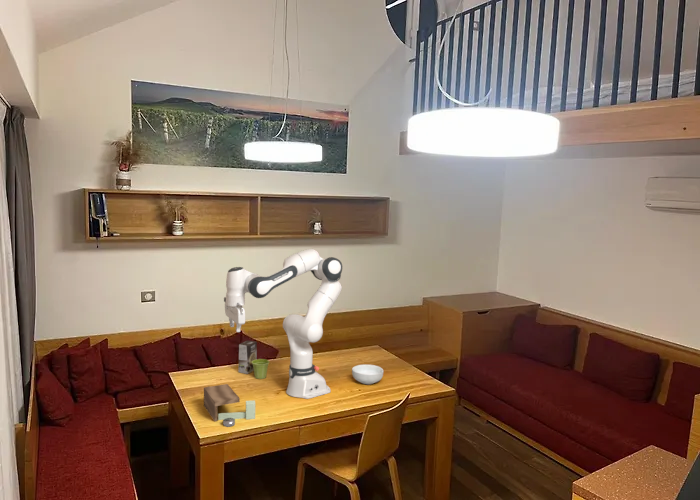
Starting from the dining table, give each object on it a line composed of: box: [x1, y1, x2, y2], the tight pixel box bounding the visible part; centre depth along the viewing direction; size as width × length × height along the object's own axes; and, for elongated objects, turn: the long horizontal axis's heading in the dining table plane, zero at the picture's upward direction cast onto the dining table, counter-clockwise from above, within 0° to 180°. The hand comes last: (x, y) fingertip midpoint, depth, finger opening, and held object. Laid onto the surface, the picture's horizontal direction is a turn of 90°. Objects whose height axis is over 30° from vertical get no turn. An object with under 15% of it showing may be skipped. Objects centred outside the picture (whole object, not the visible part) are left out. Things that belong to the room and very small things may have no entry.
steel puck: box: [222, 418, 236, 428], centre depth 241 cm, size 5×5×2 cm
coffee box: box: [238, 340, 258, 375], centre depth 306 cm, size 9×6×16 cm
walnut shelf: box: [203, 383, 241, 422], centre depth 253 cm, size 11×18×9 cm, turn 30°
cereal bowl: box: [351, 364, 384, 385], centre depth 298 cm, size 17×17×7 cm
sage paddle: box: [217, 399, 256, 421], centre depth 247 cm, size 16×4×7 cm, turn 104°
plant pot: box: [252, 358, 270, 380], centre depth 298 cm, size 9×9×9 cm
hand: (234, 329), depth 267 cm, fingers open, 8 cm apart
